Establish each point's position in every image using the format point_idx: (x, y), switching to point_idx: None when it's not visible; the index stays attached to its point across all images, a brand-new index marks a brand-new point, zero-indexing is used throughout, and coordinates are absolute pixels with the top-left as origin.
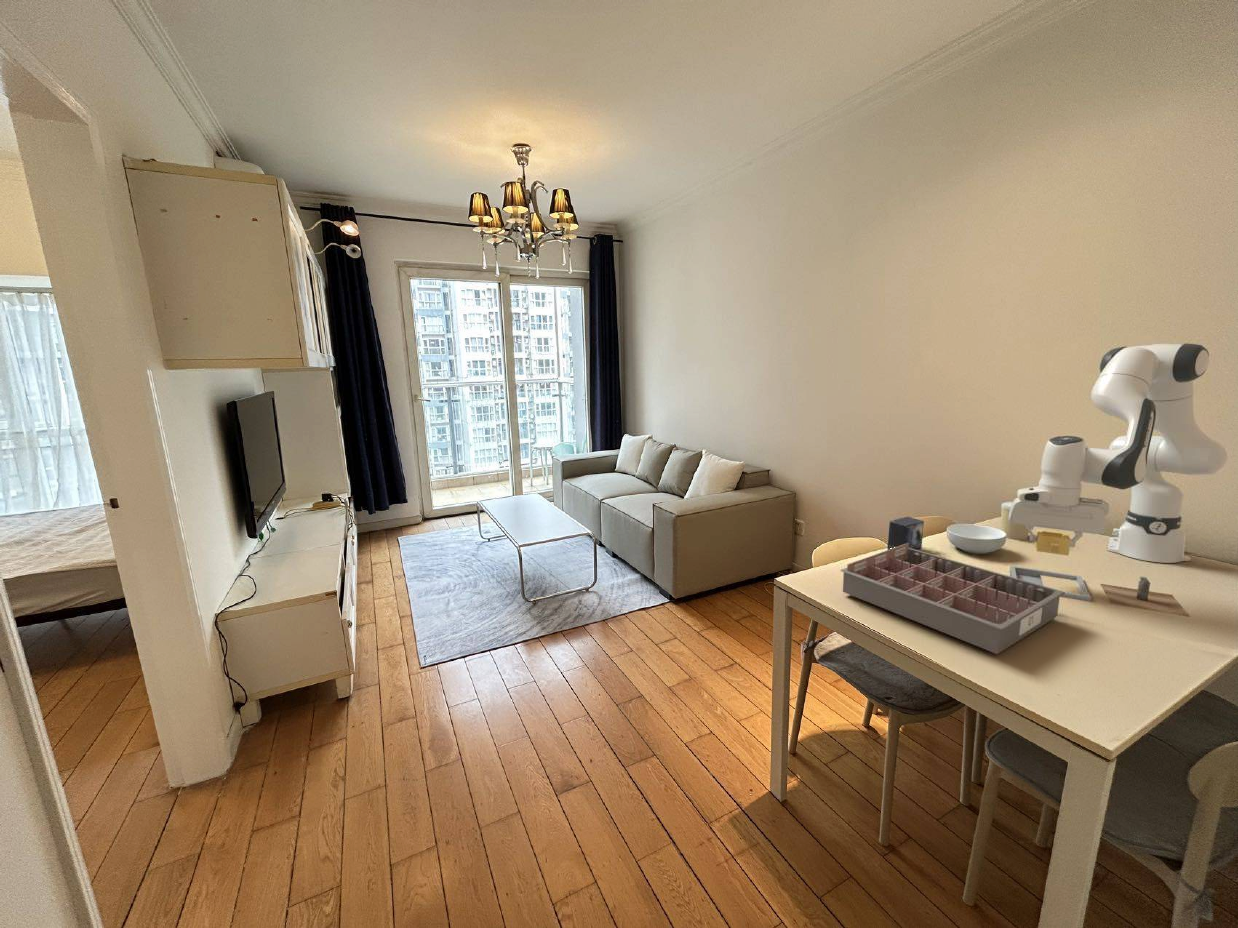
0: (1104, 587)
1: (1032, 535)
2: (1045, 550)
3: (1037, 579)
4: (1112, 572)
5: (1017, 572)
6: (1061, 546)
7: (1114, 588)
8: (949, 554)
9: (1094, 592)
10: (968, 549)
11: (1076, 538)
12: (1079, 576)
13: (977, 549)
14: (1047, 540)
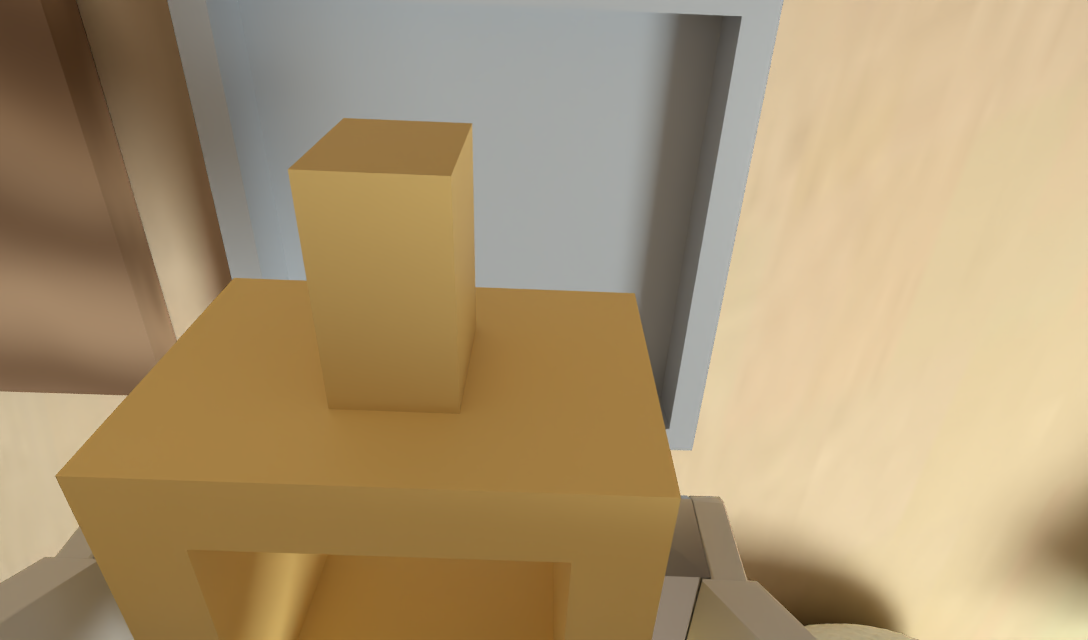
0: (134, 337)
1: (728, 582)
2: (525, 307)
3: None
4: None
5: None
6: (286, 365)
7: (80, 346)
8: (971, 569)
9: (203, 293)
10: (877, 628)
11: (7, 606)
12: None
13: (836, 630)
14: (506, 429)
